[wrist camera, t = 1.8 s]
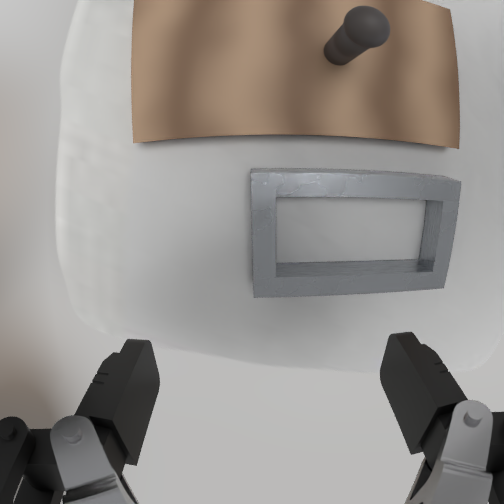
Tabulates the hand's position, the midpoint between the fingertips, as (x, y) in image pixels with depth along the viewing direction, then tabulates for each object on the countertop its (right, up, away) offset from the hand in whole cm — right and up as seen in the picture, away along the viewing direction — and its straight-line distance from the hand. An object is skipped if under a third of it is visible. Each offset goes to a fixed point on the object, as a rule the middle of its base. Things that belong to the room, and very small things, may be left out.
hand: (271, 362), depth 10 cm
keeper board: (+3, +18, +9) cm, 20 cm away
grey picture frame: (+7, +6, +14) cm, 17 cm away
